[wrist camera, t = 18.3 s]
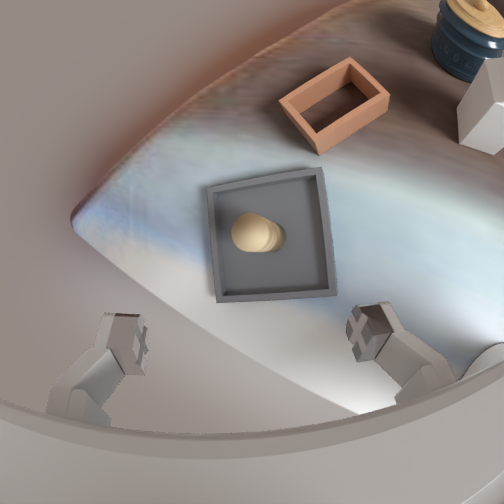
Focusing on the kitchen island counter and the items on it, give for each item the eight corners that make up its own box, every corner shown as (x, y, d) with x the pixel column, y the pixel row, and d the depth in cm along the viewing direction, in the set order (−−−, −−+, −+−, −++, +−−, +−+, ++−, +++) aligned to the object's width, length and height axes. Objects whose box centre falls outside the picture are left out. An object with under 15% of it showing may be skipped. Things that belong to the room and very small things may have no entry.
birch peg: (287, 250, 42) (270, 249, 32) (258, 254, 43) (233, 253, 34) (284, 220, 42) (265, 210, 33) (255, 224, 43) (229, 216, 34)
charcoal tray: (337, 292, 40) (336, 295, 37) (224, 300, 46) (216, 302, 43) (323, 172, 41) (321, 166, 38) (215, 191, 47) (206, 187, 44)
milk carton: (458, 144, 34) (506, 86, 16) (456, 107, 33) (493, 41, 15) (492, 156, 31) (550, 109, 13) (489, 119, 31) (535, 63, 13)
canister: (466, 94, 32) (498, 35, 15) (416, 45, 35) (427, -21, 18) (498, 73, 29) (529, 22, 12) (453, 28, 31) (468, -29, 14)
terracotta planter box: (386, 111, 37) (390, 94, 32) (319, 155, 41) (315, 142, 36) (351, 75, 39) (350, 56, 34) (286, 116, 43) (278, 100, 38)
